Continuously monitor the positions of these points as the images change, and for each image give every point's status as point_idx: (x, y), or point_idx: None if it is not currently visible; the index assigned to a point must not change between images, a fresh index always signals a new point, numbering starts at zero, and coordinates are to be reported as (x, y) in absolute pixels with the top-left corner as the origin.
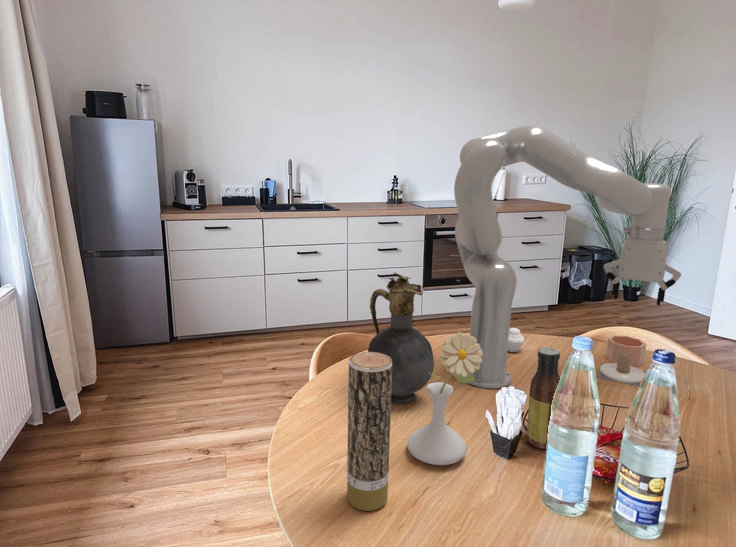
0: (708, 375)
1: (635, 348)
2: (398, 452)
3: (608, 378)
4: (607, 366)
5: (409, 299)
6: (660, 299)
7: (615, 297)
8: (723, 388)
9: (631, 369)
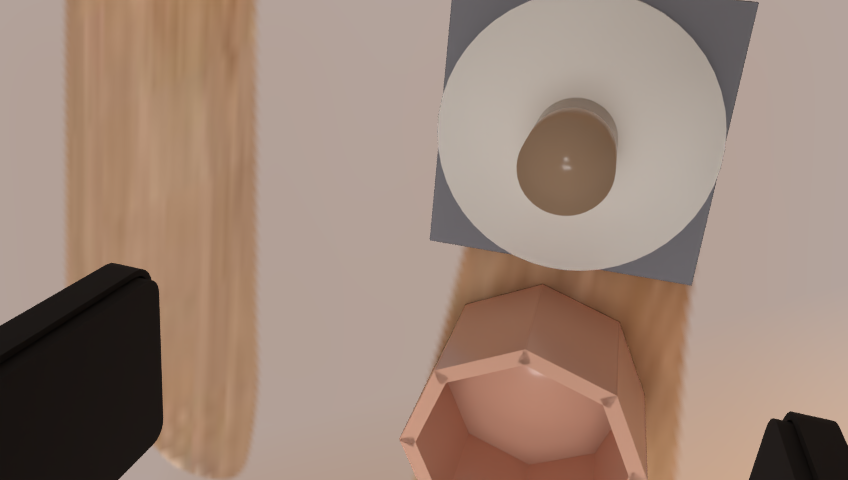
0: None
1: (473, 356)
2: None
3: (681, 21)
4: (670, 184)
5: None
6: (50, 299)
7: (818, 431)
8: (87, 170)
9: (515, 189)
